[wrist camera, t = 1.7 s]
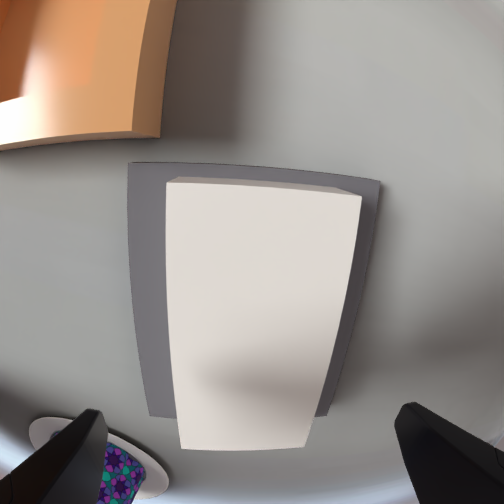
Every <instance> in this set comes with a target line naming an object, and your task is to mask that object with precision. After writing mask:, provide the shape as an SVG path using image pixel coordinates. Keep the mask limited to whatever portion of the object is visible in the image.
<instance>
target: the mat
mask: <svg viewBox="0 0 504 504" xmlns="http://www.w3.org/2000/svg"><path fill="white" fill-rule="evenodd" d="M177 177H206V178H227V179H245V180H260V181H273V182H285V183H297V184H307V185H317V186H327V187H335V188H338V189H341V190H344V191H347V192H350V193H353V194H356V195H359V196H362V200H361V208H360V215H359V222H358V229H357V235H356V242H355V248H354V253H353V259H352V265H351V270H350V276H349V281H348V286H347V291H346V296H345V301H344V305H343V310H342V314H341V319H340V323H339V328H338V332H337V336H336V340H335V344H334V348H333V352H332V356H331V360H330V364H329V367H328V371H327V375H326V378H325V382H324V386H323V389H322V393H321V396H320V399H319V403H318V406H317V409H316V412H315V416H314V417H320V416H327V413H328V410H329V408H330V405H331V402H332V399H333V395H334V392H335V389H336V386H337V383H338V380H339V376H340V373H341V370H342V366H343V363H344V360H345V356H346V352H347V349H348V345H349V342H350V338H351V334H352V330H353V326H354V322H355V318H356V314H357V310H358V306H359V301H360V297H361V292H362V288H363V283H364V278H365V274H366V269H367V264H368V258H369V253H370V247H371V242H372V236H373V230H374V224H375V217H376V210H377V203H378V196H379V188H380V181H377V180H372V179H367V178H360V177H353V176H346V175H338V174H330V173H322V172H313V171H304V170H294V169H284V168H273V167H260V166H246V165H230V164H209V163H177V162H133V163H128V188H127V212H128V247H129V266H130V281H131V293H132V304H133V313H134V322H135V331H136V338H137V346H138V353H139V359H140V366H141V372H142V378H143V384H144V389H145V394H146V400H147V405H148V410H149V414H150V416H154V417H164V418H176V419H177V413H176V405H175V396H174V387H173V377H172V367H171V355H170V342H169V327H168V309H167V286H166V183H167V182H169V181H171V180H173V179H175V178H177Z"/></svg>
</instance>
